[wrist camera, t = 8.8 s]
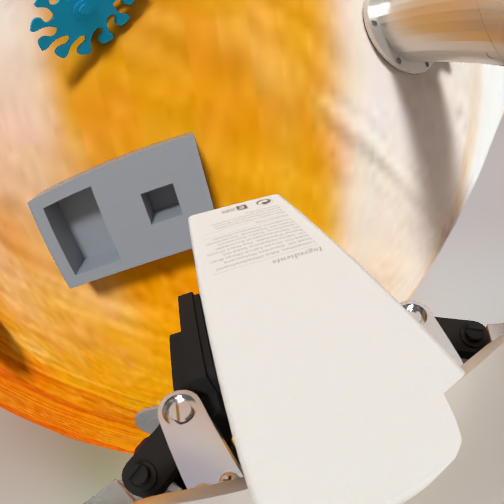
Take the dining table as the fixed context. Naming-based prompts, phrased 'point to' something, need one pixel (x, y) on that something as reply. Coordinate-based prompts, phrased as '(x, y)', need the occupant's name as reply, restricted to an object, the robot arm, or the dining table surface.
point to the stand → (123, 210)
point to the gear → (78, 22)
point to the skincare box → (318, 363)
